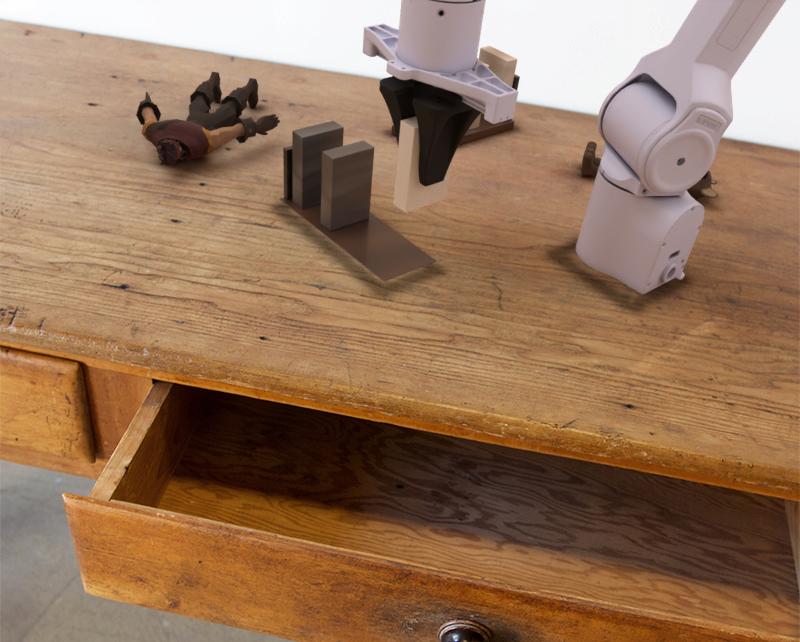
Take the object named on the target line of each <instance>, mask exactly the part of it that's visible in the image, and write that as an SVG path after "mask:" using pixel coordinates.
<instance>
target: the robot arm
mask: <svg viewBox="0 0 800 642" xmlns="http://www.w3.org/2000/svg"><path fill="white" fill-rule="evenodd" d="M486 2H487V1H486V0H400V10H399V11H400V13H399V25H398V28H395V27H392V26H390V25H387V24H386V23H379V24H374V25H368V26H367V25H366V26H363V38H362V39H363V40H362V53H363V54H364V55H366V56H367V57H370V58H375V57H379V58H380V59H383V60H384V61H386V71H385V72H386V73H387V74H389V75H391V76H388V77H383V78H382V79H381V80H379V89H378V90H379V92H380V94H381V96H382V98H383V100H384V103H385V105H386V107H387V110H388V112H389V115H390V118H391V121H392V125H394V129H395V133H396V136H395V138H396V142H397V143H396V144H397V147H398V146H399V135H400V124H401V120H405V119H408V118H412V117H417V123H418V129H419V140H420V152H419V180H420V184H422V185H423V186H429V185H433V184H436V183H439V182H442V181H443V180H444V178H445V175H446V173H447V170H448V168H449V165H450V163H451V161H452V162H453V158H454V156H455V154H456V152H457V149H458V148H459V146H460V145H461V144H460V142H461V140H462V138H463V137H464V135H465V134H466V132H467V130H468V129H469V128H470V126H471V125H472V123H473V122H474V121H475V119H476V118H477V117H478V116H479V115H480V113H481V112H482V113H484V114H485V115H484V119H485V120H486V121H488V122H490V123H492V124H496V123H499V122H503V121H507V120H509V119H512V120H513V119H514V116H515V111H516V107H517V101H518V96H519V91H518V89H517V90H515V89H513V88H512V87H510V86H508V85H507V84H505V83H504V82H503V81H502V80H501V79H499V78H498V77H497V76H496V75H495V74H494V73H493V72H492V71H491V70H490V69H489V68H488V67H486V66H485V65H484V64H483V63H482V62H481V61H480V60H479V57H478V55H479V46H480V40H481V33H482V27H483V21H484V14H485V6H486ZM785 2H787V0H696V1H695V3H694V5H693V6H692V8H691V9H690V11H689V13H688V14H687V16H686V18H685V19H684V21H683V23H682V24H681V26H680V27H679V29H678V30H677V32H676V33H675V35H674V36H673V38H672V40H671V42H669V43H668V44H666V45H665V46H663V47H661V48H659V49H656V50H654V51H651V52H649V53H647V54H645V55H643V56H642V57H641V58H640V59H639V61H638V62H637V64H636V66H635V67H634V69H633V70H632V72H631V73H630V74H629V75H628V76H627V77H626V78H624V80H623V81H622V82H620V83H618V85H616V86H615V87H614V88H613V89H611V91H610V92H609V93H608V94H607V96H606V97H605V98H604V100H603V101H602V103H601V105H600V109H599V111H598V114H597V130H598V133H599V135H600V138H601V139H602V141H604V143H603V147H602V151H601V158H600V159H601V162H600V166H599V169H598V172H597V175H595V178H594V179H595V180H594V182H593V187H592V190H591V192H590V196H589V200H588V204H587V207H586V210H585V213H584V217H583V220H582V224H581V226H580V231H579V234H578V238H577V240H576V244H575V252H576V255H577V257H578V258H579V259H580V260H581V261H582V262H583V264H585V265H587V266H588V267H590V268H591V269H593V270H595V271H597V272H600V273H602V274H605V275H608V276H609V277H611V278H614V279H616V280H617V281H619V282H621V283H622V284H624V285H626V286H627V287H628V288H630V289H632V290H633V291H635V292H637V293H639V294H641V295H645V294H647V293H649V292H651V291H653V290H655V289H657V288H658V287H661V286H662V285H664V284H666V283H668V282H670V281H672V280H674V279H678V280H680V281H682V280H683V279H684V278H685V275H686V273H685V272H684V269H685V267H686V264H687V262H688V260H689V258H690V254H691V252H692V250H693V249H694V245H695V243H696V241H697V238H698V235H699V233H700V231H701V228H702V226H703V223H704V220H705V219H704V218H705V213H706V212H705V207H704V206H703V204H701V203H700V202H699V201H698V200H696V198H692V197H691V196H690V194H689V193H688V192H687V189H689V188H691V187H692V186H693V185H695V184H696V183H697V182H698V181H699V180H701V178H702V177H703V176H704V175H705V174H706V173H707V171H708V170H709V171H710V169H711V167H712V165H713V163H714V161H715V158H716V156H717V151H718V148H719V144H720V142H721V140H722V137H723V135H724V134H725V132H726V131H727V129H728V128H729V127H730V125H732V122H733V120H734V107H733V95H732V79H733V78H734V77H735V75H736V74H737V72H738V71H739V69H740V68H741V66H742V65H743V63H745V60H746V59H747V57H748V56H749V55H750V54H751V52H752V51H753V49H754V48H755V47H756V45H757V43H758V42H759V40H760V39H761V38H762V36H763V35H764V34H765V32H766V30H767V29H768V28H769V26H770V25H771V23H772V22H773V20H774V18H776V16H777V15H778V13H779V12H780V10H781V9H782V7H783V5H784V4H785ZM459 144H460V145H459Z"/></svg>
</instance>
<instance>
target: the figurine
mask: <svg viewBox="0 0 800 642" xmlns="http://www.w3.org/2000/svg"><path fill="white" fill-rule="evenodd" d="M222 95H223V92H222V88H221V77H220V72H219V71H218V72H217V71H211V73H210V76H209V78H208V79H207V80H205V81H202V82H201V83H200V84H199V85H198V86H197V87H196V88H195V90H194V91H193V93H191V94H190V96H189V100H190V104H188V116H187V117H186V120H183V119H180V118H179V119H178V118H172V119H164V120H161V116H162V112H161V110H160V109H159V107H158V105H157V104H156V103H154V101H152V99H151V96H150V94H149V92H148V91H145V97H144V99H143V100H141V101H140V102H139V105H138V106H137V111H136V114H135V116H136V118H137V120H138V121H139V123H140V125H142V129H141V134H142V136H143V137H144V138H145V140H146V141H148V142H149V143H151V145H153V146H154V147H155V149H156V152H157V155H158V156H157V158H158V160H159V161H160V163H159V165H163V166H168V165H169V166H170V165H171V166H173V165H176V164H177V162H178V160H179V159H180V161H184V160H186V161H190V160H197V159H200V158H202V157H204V156H206V155H211V154H212V153H213V150H214V149H216V148H218V147H219V146H220V145H225V144H227V143H229V142H232V141H233V140H236V141H237V142H238V143H239V144H244V143H246V142H247V141H248V139H249V138H253V137H256V136H257V134H258V135H261V136H267V135H269V131H272V130H274V129H275V128H277V127H278V125H279V124H280V122H281V120H280V119H279V116H277V114H276V113H273V114H266V115H261V117H258V118H257V119H256V121H255V120H254V119H253V118H252V117H245V118H243V117H242V118H241V116H242V115H243V112H244V110H246V108H247V107H248V106H249V108H250V109H256V108H257V105H258V103H259V101H260V100H259V84H258V80H257V78H253V77H249V78H248V82H247V83H246V85H244V86H241V87H236V88H235V89H233V90H232V91H230V93H229V94H228V95H226V96H225V97H224V98H223V99H222ZM221 99H222V100H221ZM214 102H216V103H221V105H220V106H219V107H218V108H217V109H216V110H215V111H214V112H212V113H211V112H210V110H211V109H212V108H211V107H212V106H211V105H212V103H214ZM247 103H248V104H247Z"/></svg>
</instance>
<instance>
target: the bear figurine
mask: <svg viewBox="0 0 800 642" xmlns="http://www.w3.org/2000/svg"><path fill="white" fill-rule="evenodd" d="M597 146H598V145H597V143H596V142H595V141H592V140H591V141H588V142H587V144H586V147H585V150H584V152H583V155H582V160H581V161H582V162H581V168H580V173H581V175H582V176H597V172H598V169H599V166H600V162H601V159H602V158H600V157H596V150H597ZM712 185H718V181H717V180H716V179H715V178H712V173H711V171H710V169H709V170H708V171H707V173H706V174H705V175H704V176H703V177H702V178H701V180H699V181H698V182H697V183H696V184H695V185H693V186H692V187H691V188H689V189H687V192H688V193H689V194H690V196H691V197H692V198H694V199H695V200H696V199H702V198H704V197H706V198H709V199H716V198H718V197H719V193H717V192H716V191H715V190H714V189H713V188H712Z"/></svg>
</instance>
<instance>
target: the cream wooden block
mask: <svg viewBox="0 0 800 642" xmlns="http://www.w3.org/2000/svg"><path fill="white" fill-rule="evenodd" d="M419 152H420V140H419V129H418V123H417V117H412V118H408V119H405V120H401V124H400V135H399V146H398V145H397V159H396V169H395V178H394V179H395V180H394V181H395V182H394V191H393V203H392V205H393V206H394V207H396V208H398V209H399V210H400V211H402V212H403V213H405V214H407V213H409V212H412V211H416V210H418V209H421V208H424V207H426V206H429V205H432V204H435V203H438V202H441V201H445V200H447V199H448V193H449V186H450V178H451V172H452V165H453V160H452V161H451V163H450V165H449V168H448V170H447V173H446V175H445V178H444V180H443V181H442V182H439V183H436V184H433V185H429V186H423V185H422V184H420V180H419Z"/></svg>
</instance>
